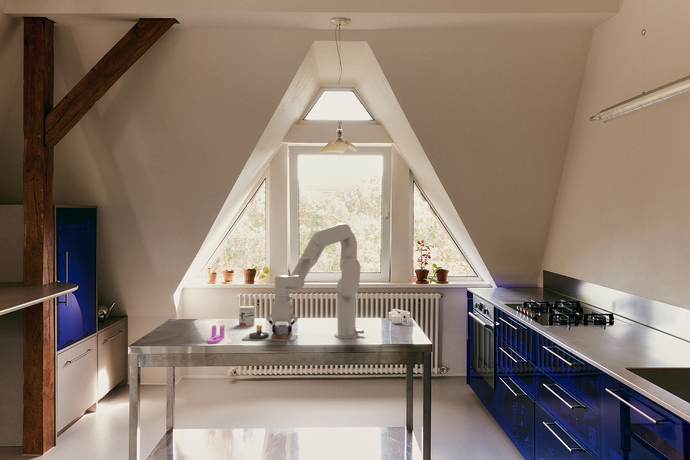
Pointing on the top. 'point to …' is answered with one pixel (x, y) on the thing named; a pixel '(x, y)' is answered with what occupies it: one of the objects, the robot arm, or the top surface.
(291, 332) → the stand
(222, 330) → the bracket
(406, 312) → the skeletal toy car
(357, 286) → the robot arm
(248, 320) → the ink box
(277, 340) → the mat
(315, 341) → the top surface
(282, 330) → the ring
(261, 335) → the hub
